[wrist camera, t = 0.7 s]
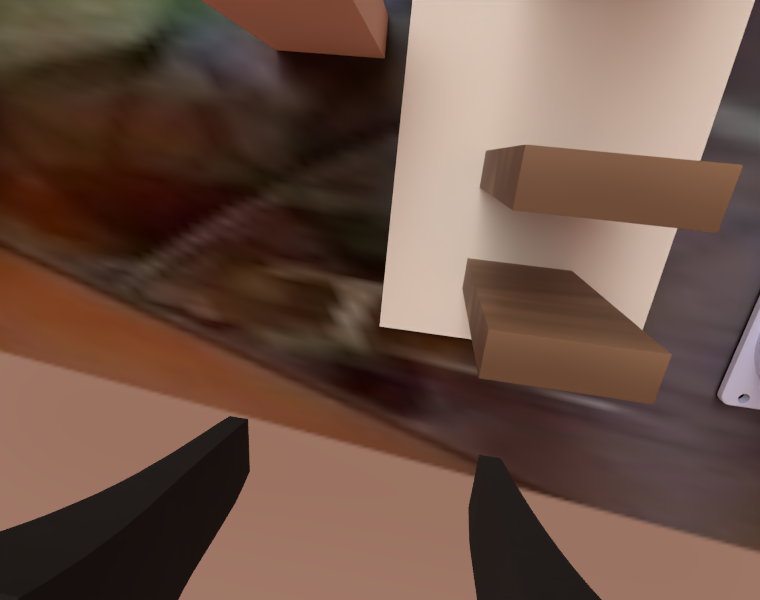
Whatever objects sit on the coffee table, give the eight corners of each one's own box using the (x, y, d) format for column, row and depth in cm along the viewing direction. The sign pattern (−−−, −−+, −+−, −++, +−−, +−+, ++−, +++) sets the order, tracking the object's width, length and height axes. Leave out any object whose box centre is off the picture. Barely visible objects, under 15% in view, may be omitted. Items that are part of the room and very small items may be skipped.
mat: (872, -362, 13) (881, -373, 12) (629, 358, 21) (631, 361, 21) (449, -353, 14) (449, -364, 14) (380, 324, 22) (379, 326, 22)
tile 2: (485, 150, 18) (525, 144, 10) (600, 161, 18) (743, 165, 10) (479, 187, 19) (512, 210, 11) (590, 198, 19) (717, 233, 10)
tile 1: (467, 257, 20) (488, 329, 12) (571, 270, 20) (671, 355, 11) (462, 288, 21) (478, 378, 12) (563, 301, 20) (653, 404, 12)
